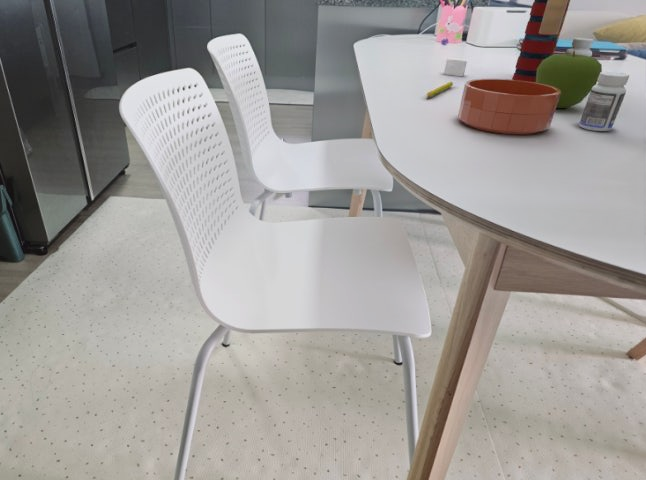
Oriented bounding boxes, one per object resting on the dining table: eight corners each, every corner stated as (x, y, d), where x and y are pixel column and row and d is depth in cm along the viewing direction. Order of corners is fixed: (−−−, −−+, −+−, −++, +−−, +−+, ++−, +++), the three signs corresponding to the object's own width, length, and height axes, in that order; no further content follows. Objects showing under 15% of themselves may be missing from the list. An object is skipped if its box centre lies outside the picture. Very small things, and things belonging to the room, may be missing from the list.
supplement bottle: (582, 88, 107) (599, 40, 102) (556, 86, 109) (571, 39, 104) (579, 84, 112) (594, 38, 106) (554, 82, 113) (568, 37, 108)
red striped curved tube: (541, 95, 100) (584, -46, 86) (506, 91, 103) (543, -46, 89) (548, 77, 118) (586, -41, 105) (519, 75, 121) (551, -41, 108)
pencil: (448, 86, 106) (448, 81, 106) (452, 86, 106) (453, 82, 105) (423, 98, 94) (424, 93, 94) (428, 98, 94) (429, 93, 93)
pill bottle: (596, 123, 80) (616, 70, 75) (617, 131, 76) (640, 75, 71) (571, 124, 79) (590, 71, 74) (592, 132, 75) (613, 76, 71)
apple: (549, 114, 85) (568, 54, 80) (515, 101, 94) (530, 47, 88) (601, 113, 86) (624, 54, 81) (563, 100, 95) (581, 46, 90)
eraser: (444, 73, 121) (447, 58, 119) (463, 75, 120) (467, 59, 118) (443, 74, 121) (446, 59, 119) (462, 76, 119) (466, 60, 117)
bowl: (533, 116, 83) (544, 80, 80) (561, 138, 72) (575, 97, 68) (451, 112, 85) (458, 77, 82) (465, 133, 73) (475, 93, 70)
